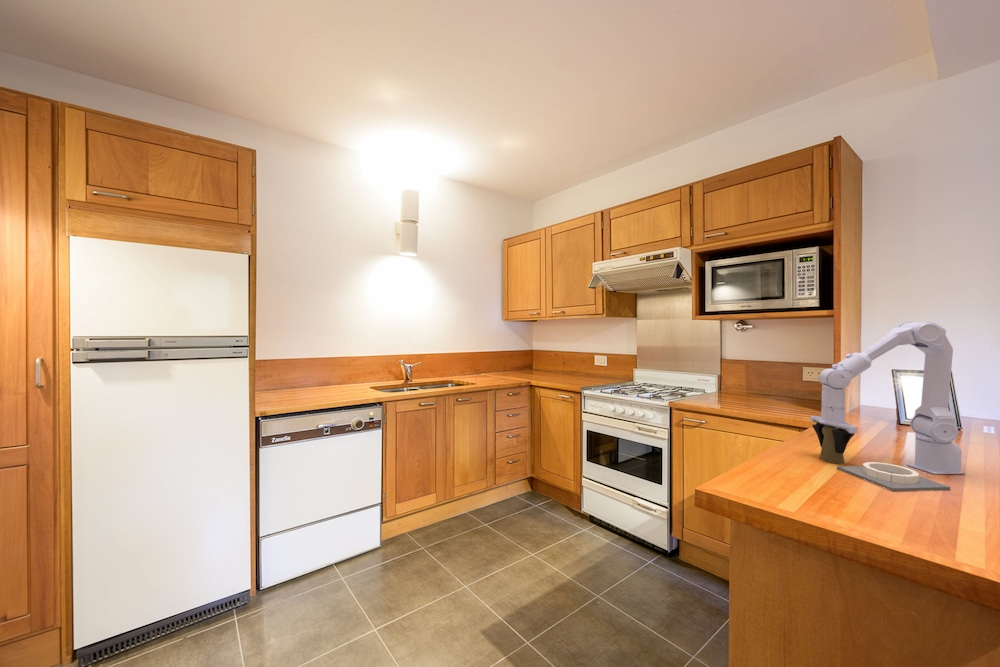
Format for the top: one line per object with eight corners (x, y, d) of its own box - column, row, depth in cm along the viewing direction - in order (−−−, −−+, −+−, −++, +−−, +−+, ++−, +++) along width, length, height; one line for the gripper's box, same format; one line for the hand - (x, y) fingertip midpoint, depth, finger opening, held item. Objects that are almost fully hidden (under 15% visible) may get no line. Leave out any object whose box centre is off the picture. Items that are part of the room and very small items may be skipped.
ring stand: (887, 468, 121) (887, 458, 120) (950, 490, 105) (950, 479, 105) (836, 469, 120) (837, 459, 119) (892, 491, 104) (893, 480, 103)
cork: (835, 457, 130) (836, 424, 129) (849, 464, 124) (850, 428, 123) (815, 457, 130) (815, 423, 130) (828, 463, 124) (829, 428, 124)
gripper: (802, 402, 133) (801, 443, 134) (842, 412, 119) (841, 457, 119) (822, 402, 134) (821, 443, 134) (864, 412, 119) (863, 457, 120)
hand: (832, 450), depth 127 cm, fingers closed on cork, 5 cm apart
